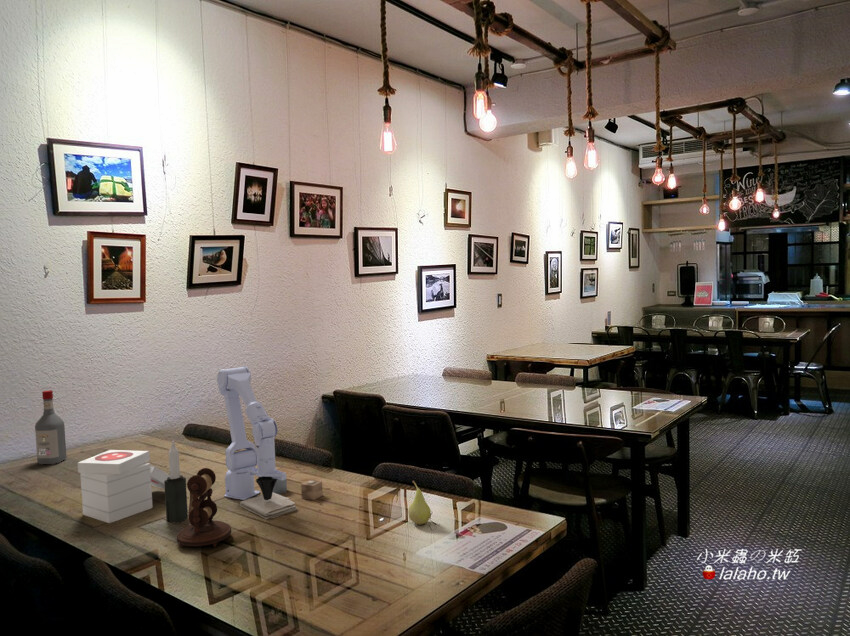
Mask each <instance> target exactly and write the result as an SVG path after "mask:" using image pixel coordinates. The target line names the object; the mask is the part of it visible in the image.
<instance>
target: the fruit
mask: <svg viewBox="0 0 850 636" xmlns="http://www.w3.org/2000/svg"><path fill="white" fill-rule="evenodd" d="M412 483H413V484H414V486H415V487H416V491H415V494H414V499H413V501H412V502H411V504H410V505H409V506H408V509H407V514H408V518H409V519H410V521H412V523H415V524H416V525H425V524H426V523H428V522H429V520H430V519H431V516H432V510H431V507H430V506H429V505H428V503H427V501H426V500H425V497H424V494H423V492H422V490H421V489H420V488H419V487H418V486H417V483H416V482H415V480H412Z"/></svg>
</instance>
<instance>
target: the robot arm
mask: <svg viewBox="0 0 850 636" xmlns="http://www.w3.org/2000/svg"><path fill="white" fill-rule="evenodd" d="M216 381H217V388H218V391H219V394H220V395H222V396H223V399H224V404H225V409H226V410H225V411H226V415H227V420H228V426H229V432H230V437H231V439H230V440H231V443H230V445H228V447H227V448H226V449H225V459H224V460H225V466H226V468H227V471H226V473H225V475H224V484H225V485H224V486H225V488H224V489H225V494H223V497H225V498H230V499H231V498H232V499H234V500H235V499H236V500H242V501H244V500H247V499H251V498H253V497H254V496H256V495H259V494H260V493H262V494H263V497H264V500H269V499H271V498H272V493H273V489H274V486H275V483H276V481H277V480H278V479H280V480H282V481H283V480H285V479H287V480H288V478H286V477H287V472H283V471H281V470H278V469H277V467H276V466H277V465H276V450H275V449H276V447H275V446H276V445H275V443H276V442H275V437H277V435H278V424H277V422H276V420H275V419H273V418H272V417H270V416H269V415H268V413H267V412H266V409H265V407H264V405H263V404H262V402H260V401H257V399H256V396H255V393H254V390H253V388H252V386H251V382H252V373H251V371H250V368H249V367H248V366H245V365H244V366H241V367H240V366H239V367H232V368H225V369H223V368H221V369H220V370H218V372H217V377H216ZM240 398H241V399H240ZM241 400H242V401H243V402H244V404H245V406H246V408H245V413H246V416H247V418H248V420H249V422H250V424H251V426H252V429H251V433H252V437H253V441H254V443H253V442H251V441H250V440H248V438H247V432H246V427H245V421H244V416H243V411H242V404H241ZM255 476H256V477H258V478H256V480H255ZM255 482H256V483H257V485H258V487H259V488H260V490H255ZM262 494H261V495H262Z"/></svg>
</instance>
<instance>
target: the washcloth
mask: <svg viewBox="0 0 850 636" xmlns="http://www.w3.org/2000/svg"><path fill="white" fill-rule="evenodd" d="M239 507H240V508H243V509H245V510H246V511H249V512H250V513H253V514H254V515H257V516H259V517H260V518H262V519H264V520H266V521H267V520H268V519H274V518H278V517H280V516H283V515H286V514H289V513H293V512H295V511H297V510H298V508H297V505H296V502H294V501H292V500H291V499H290V498H289V497H285V496H284V495H281V494H276V493H274V492H273V493H272V498H271V499H269V500H264V497H263V494H261V495H258V496H255V497H250V498H248V499H246V500H242V501H240V502H239Z"/></svg>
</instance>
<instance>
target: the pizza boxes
mask: <svg viewBox="0 0 850 636" xmlns="http://www.w3.org/2000/svg"><path fill="white" fill-rule="evenodd" d="M150 460H151V459H150V450H130V449H129V450H126V449H124V450H123V449H108V450H106V451H104V452H100V453H98V454H96V455H94V456H92V457H88V458H86V459H83V460H80V461H79V462H77V473H78V474H79V473H80V474H79V475H80V489H81V504H82V505H81V506H82V515H83V516H85V517H89V518H92V519H95V520H98V521H101V522H105V523H107V524H112V523H114V522H116V521H119V520H123V519H126V518H128V517H130V516H134V515H136V514H139V513H142V512H145V511H147V510H150V509H152V508H154V507H153V491H152V489H153V488H152V486H153V487H156V488H159V489H163V490H165V485H164V481H165V480H167V478H168V477H170V474H168V473H167V472H165V471H164V470H161V469H160V468H158V467H157V466H153V465H151V463H150V462H149V461H150Z"/></svg>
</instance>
